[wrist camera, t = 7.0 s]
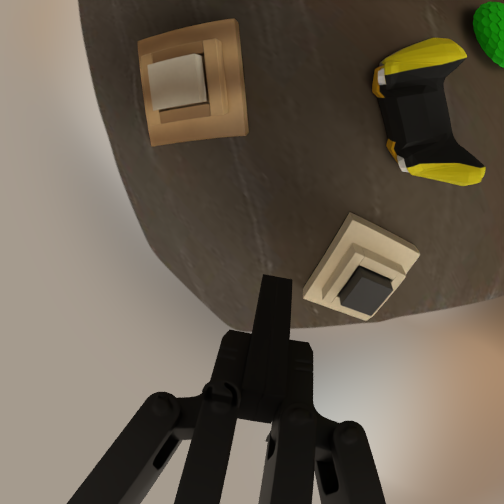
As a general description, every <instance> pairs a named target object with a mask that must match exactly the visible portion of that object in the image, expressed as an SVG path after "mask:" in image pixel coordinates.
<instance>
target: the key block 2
mask: <svg viewBox="0 0 504 504" xmlns="http://www.w3.org/2000/svg"><path fill="white" fill-rule="evenodd" d="M419 256H420V253H419V251H418V249H417V248H416V246H415V245H413V244H411V243H410V242H408V241H406V240H404V239H402V238H400V237H398V236H397V235H395V234H393V233H391V232H389V231H387V230H385V229H383V228H381V227H379V226H377V225H375V224H373V223H371V222H369V221H367V220H365V219H363V218H361V217H359V216H357V215H355V214H353V213H351V212H349V214H348V216H347V218H346V219H345V221H344V223H343V225H342V226H341V228H340V230H339V231H338V233H337V235H336V236H335V238H334V240H333V241H332V243H331V245H330V246H329V248H328V250H327V251H326V253H325V254H324V256H323V258H322V259H321V261H320V262H319V264H318V266H317V267H316V269H315V270H314V272H313V274H312V275H311V277H310V278H309V280H308V281H307V283H306V284H305V286H304V288H303V298H304V299H306V300H309V301H312V302H315V303H317V304H320V305H323V306H326V307H329V308H331V309H334V310H337V311H340V312H343V313H345V314H348V315H351V316H354V317H357V318H360V319H363V320H366V321H367V320H368V319H369V318H370V317H371V318H372V317H373V315H374V314H375V313H376V312H377V311H378V310H379V309H380V307H381V306H382V305H383V304H384V303H385V302H386V300H387V299H388V298H389V297H390V296H391V294H392V293H393V292H394V291H395V290H396V288H397V287H398V286H399V285H400V283H401V282H402V281H403V280H404V278H405V277H406V273H407V272H408V271H409V269H410V268H411V267H412V265H413V264H414V263H415V261H416V260H417V259H418V257H419ZM358 266H362V267H364V268H366V269H369V270H371V271H373V272H375V273H378V274H380V275H382V276H384V277H387V278H389V279H390V282H391V285H392V287H393V291H392V293H391V294H390V295H389V296H388V297H387V299H386V300H385V301H384V302H383V303H382V304H381V306H380V307H379V308H378V309H377V310H376V311H375V313H374V314H373V315H372V316H369V315H366V314H364V313H361V312H358V311H355V310H352V309H350V308H347V307H344V306H341V304H340V297H339V293H340V291H341V290H342V288H343V287H344V286H345V284H346V283H347V282H348V280H349V279H350V278H351V276H352V275H353V273H354V272H355V270H356V269H357V268H358Z"/></svg>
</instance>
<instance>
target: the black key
mask: <svg viewBox="0 0 504 504" xmlns="http://www.w3.org/2000/svg"><path fill="white" fill-rule="evenodd" d="M392 291H393V287H392V285H391V282H390V279H389V278H387V277H384V276H382V275H380V274H378V273H375V272H373V271H371V270H369V269H366V268H364V267H362V266H358V268H357V269H356V270H355V272H354V273H353V275H352V276H351V278H350V279H349V280H348V282H347V283H346V284H345V286H344V287H343V288H342V290H341V291H340V293H339V297H340V304H341V306H344V307H347V308H350V309H352V310H355V311H358V312H361V313H364V314H366V315H369V316H372V315H373V314H374V313H375V311H376V310H377V309H378V308H379V307H380V306H381V304H382V303H383V302H384V301H385V300H386V299H387V297H388V296H389V295H390V294H391V293H392Z"/></svg>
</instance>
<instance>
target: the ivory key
mask: <svg viewBox="0 0 504 504" xmlns="http://www.w3.org/2000/svg"><path fill="white" fill-rule="evenodd" d="M147 66H148V75H149V83H150V91H151V99H152V106H153V111H155V110H160V109H164V108H169V107H175V106H180V105H186V104H192V103H198V102H204V101H207V93H206V84H205V75H204V65H203V56H201V55H198V54H190V55H185V56H181V57H176V58H172V59H168V60H164V61H160V62H157V63H153V64H150V65H147Z"/></svg>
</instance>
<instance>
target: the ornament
mask: <svg viewBox="0 0 504 504" xmlns="http://www.w3.org/2000/svg"><path fill="white" fill-rule="evenodd" d="M473 18H474V20H473V26H474V28H473V29H474V33H475V34H476V39H477V41H478V42H479V43H480V46H481V48H482V49H483V50H484V52H485V53H486V54H487V56H488V57H490V58H491V59H492V60H493V62H495V63H497V64H498V65H499V66H501V67H503V68H504V4H502V3H500V2H487V3H486V4H482V5H480V7H479V8H478V9H477V10H476V11H475V14H474V16H473Z"/></svg>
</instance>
